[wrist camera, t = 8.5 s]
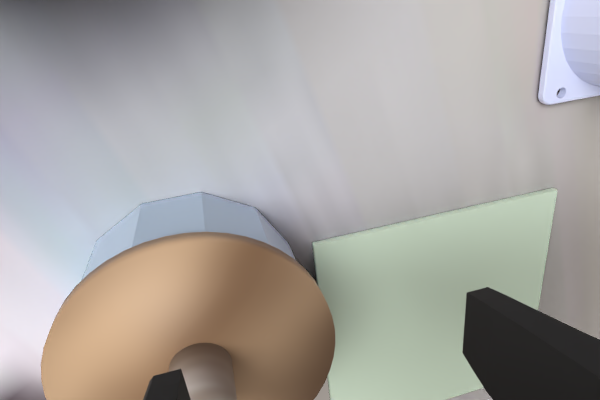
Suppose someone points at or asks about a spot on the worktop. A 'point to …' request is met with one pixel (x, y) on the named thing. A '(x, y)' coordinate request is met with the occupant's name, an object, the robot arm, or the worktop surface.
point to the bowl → (184, 224)
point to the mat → (425, 294)
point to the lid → (192, 324)
